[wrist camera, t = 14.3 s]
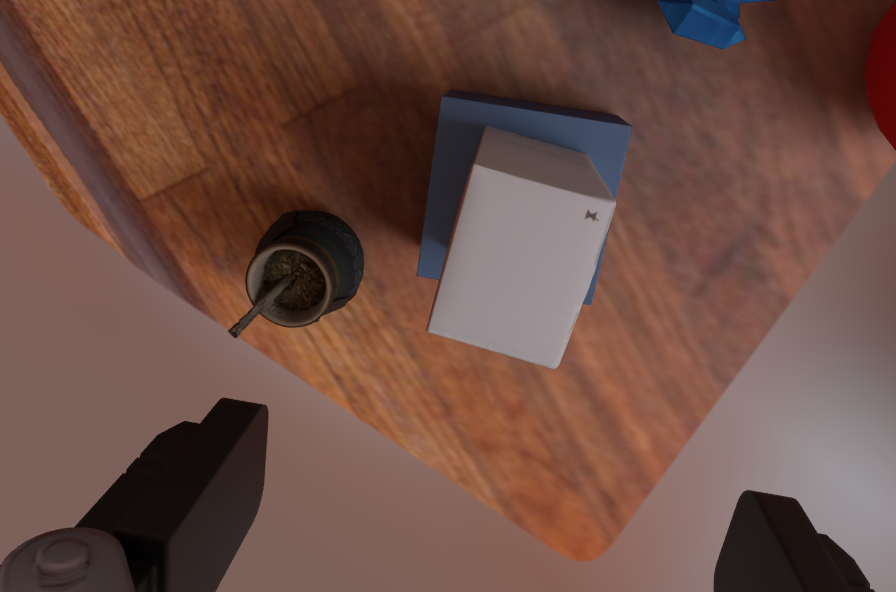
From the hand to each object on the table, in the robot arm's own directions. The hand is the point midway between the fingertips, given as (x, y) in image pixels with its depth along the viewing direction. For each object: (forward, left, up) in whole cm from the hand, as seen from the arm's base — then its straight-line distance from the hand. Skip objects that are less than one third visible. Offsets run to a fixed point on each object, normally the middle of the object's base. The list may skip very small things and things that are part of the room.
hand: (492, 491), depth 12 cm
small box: (+2, +1, -32) cm, 32 cm away
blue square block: (+2, +1, -38) cm, 38 cm away
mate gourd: (+9, -12, -38) cm, 41 cm away
